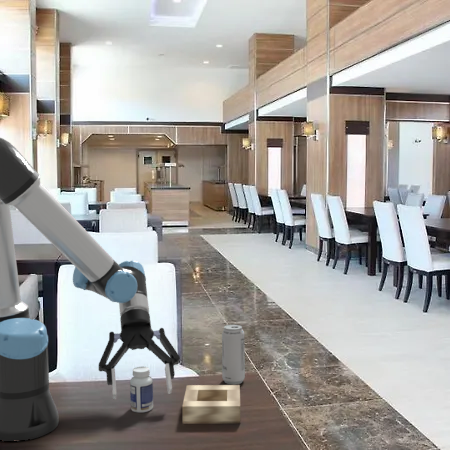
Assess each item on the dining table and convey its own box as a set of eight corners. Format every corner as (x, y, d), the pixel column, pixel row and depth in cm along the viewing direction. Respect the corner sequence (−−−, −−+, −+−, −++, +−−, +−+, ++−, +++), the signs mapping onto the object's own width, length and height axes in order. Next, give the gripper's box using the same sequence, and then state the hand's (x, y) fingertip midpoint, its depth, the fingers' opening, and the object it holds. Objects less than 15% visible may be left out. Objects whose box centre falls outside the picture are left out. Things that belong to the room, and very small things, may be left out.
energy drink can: (222, 377, 161) (222, 323, 159) (244, 377, 161) (244, 323, 159) (221, 385, 155) (221, 329, 153) (244, 385, 155) (244, 329, 153)
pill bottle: (155, 404, 142) (154, 365, 142) (150, 413, 137) (149, 373, 136) (133, 403, 143) (132, 365, 142) (128, 412, 138) (127, 372, 137)
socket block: (182, 423, 131) (182, 406, 131) (187, 400, 144) (186, 385, 144) (240, 423, 131) (240, 406, 131) (239, 400, 144) (239, 385, 144)
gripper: (180, 319, 156) (191, 395, 143) (86, 326, 150) (89, 406, 137) (183, 304, 151) (195, 381, 137) (86, 310, 145) (89, 392, 131)
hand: (142, 394), depth 137 cm, fingers open, 12 cm apart
